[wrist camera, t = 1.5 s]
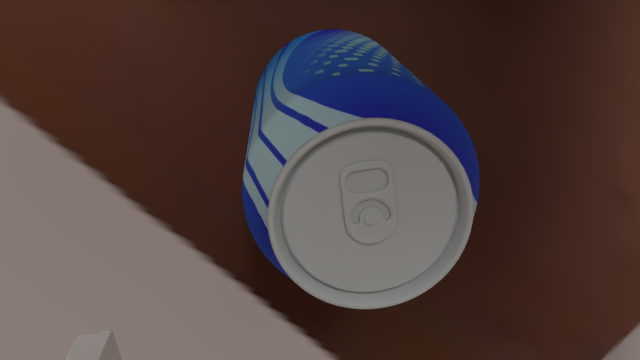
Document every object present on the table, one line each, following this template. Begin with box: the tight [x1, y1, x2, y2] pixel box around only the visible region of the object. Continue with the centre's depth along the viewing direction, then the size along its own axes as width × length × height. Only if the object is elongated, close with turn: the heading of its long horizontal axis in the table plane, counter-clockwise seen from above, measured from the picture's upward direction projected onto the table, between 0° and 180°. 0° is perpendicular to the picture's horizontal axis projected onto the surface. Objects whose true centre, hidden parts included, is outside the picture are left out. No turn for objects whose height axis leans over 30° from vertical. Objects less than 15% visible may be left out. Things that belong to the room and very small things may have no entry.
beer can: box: [242, 29, 480, 309], centre depth 26 cm, size 8×8×16 cm
